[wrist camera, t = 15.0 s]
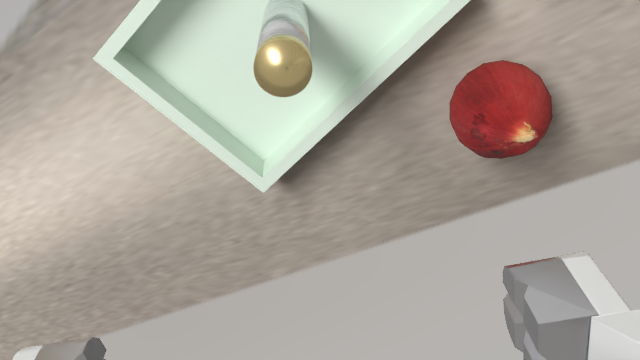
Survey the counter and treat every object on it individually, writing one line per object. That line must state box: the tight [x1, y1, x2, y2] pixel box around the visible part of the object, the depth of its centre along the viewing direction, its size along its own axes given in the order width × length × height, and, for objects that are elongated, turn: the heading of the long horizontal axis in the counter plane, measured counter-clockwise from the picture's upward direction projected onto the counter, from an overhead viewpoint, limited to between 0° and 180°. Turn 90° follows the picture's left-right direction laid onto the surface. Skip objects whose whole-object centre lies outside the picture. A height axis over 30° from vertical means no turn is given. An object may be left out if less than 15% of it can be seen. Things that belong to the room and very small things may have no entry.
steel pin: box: [253, 0, 312, 97], centre depth 28 cm, size 3×3×10 cm
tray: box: [93, 0, 470, 193], centre depth 32 cm, size 18×13×3 cm
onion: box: [450, 60, 552, 158], centre depth 33 cm, size 6×6×8 cm
